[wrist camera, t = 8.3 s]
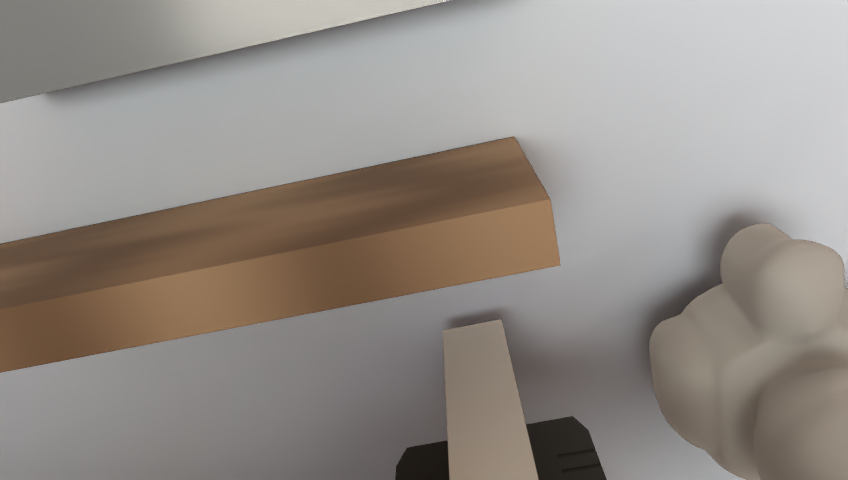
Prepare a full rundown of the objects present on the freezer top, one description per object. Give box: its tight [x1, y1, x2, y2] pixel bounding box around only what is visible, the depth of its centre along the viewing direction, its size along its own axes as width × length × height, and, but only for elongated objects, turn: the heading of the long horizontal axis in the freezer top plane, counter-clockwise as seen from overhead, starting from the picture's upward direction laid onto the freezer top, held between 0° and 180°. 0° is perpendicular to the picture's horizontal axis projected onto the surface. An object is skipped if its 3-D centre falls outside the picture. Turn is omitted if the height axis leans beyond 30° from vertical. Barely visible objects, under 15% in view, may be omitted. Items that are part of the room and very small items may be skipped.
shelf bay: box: [0, 137, 560, 373], centre depth 16 cm, size 19×11×5 cm, turn 102°
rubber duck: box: [649, 223, 848, 480], centre depth 13 cm, size 5×7×8 cm
